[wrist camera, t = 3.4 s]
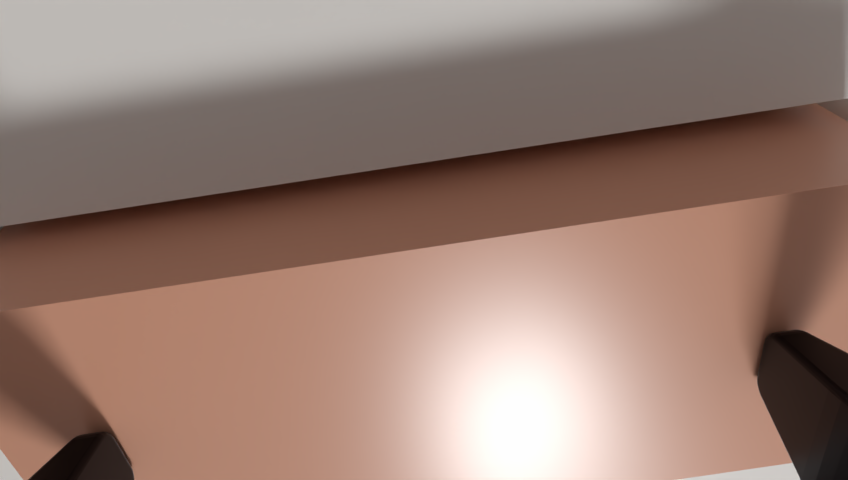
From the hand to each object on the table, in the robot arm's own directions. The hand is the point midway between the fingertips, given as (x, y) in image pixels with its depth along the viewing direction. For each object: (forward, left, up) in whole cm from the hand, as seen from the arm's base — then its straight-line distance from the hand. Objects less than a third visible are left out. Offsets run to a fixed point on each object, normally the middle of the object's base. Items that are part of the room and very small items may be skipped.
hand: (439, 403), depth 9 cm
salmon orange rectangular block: (0, 0, -4) cm, 4 cm away
